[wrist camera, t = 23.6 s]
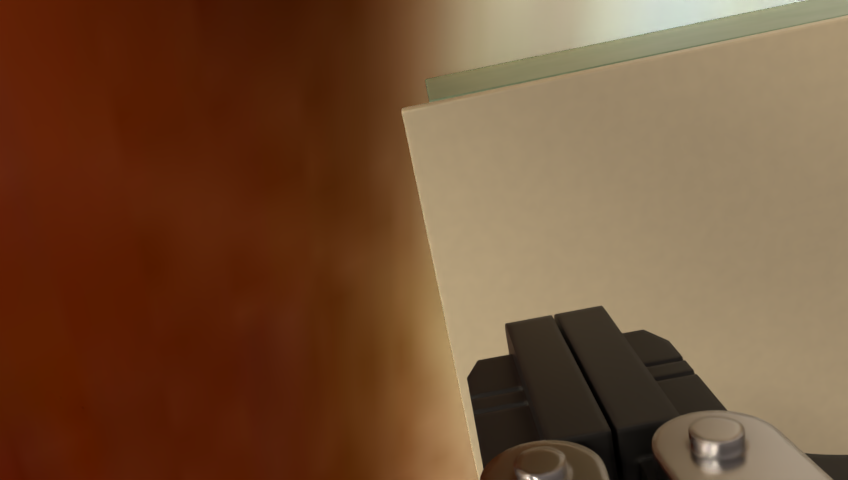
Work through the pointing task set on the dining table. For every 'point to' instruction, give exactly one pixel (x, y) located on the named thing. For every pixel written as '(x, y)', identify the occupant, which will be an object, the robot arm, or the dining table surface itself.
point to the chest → (633, 48)
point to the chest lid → (660, 216)
